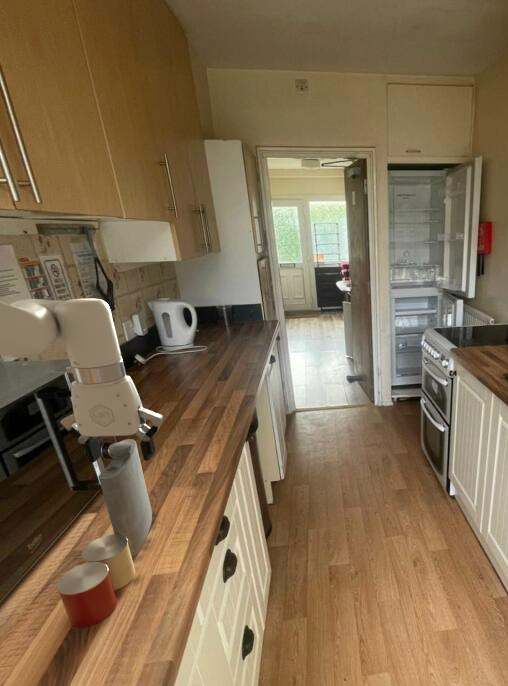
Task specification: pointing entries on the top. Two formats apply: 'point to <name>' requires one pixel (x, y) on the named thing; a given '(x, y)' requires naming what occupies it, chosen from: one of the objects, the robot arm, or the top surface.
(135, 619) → the top surface
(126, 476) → the hip flask
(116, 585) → the can cream
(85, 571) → the can red
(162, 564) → the top surface
